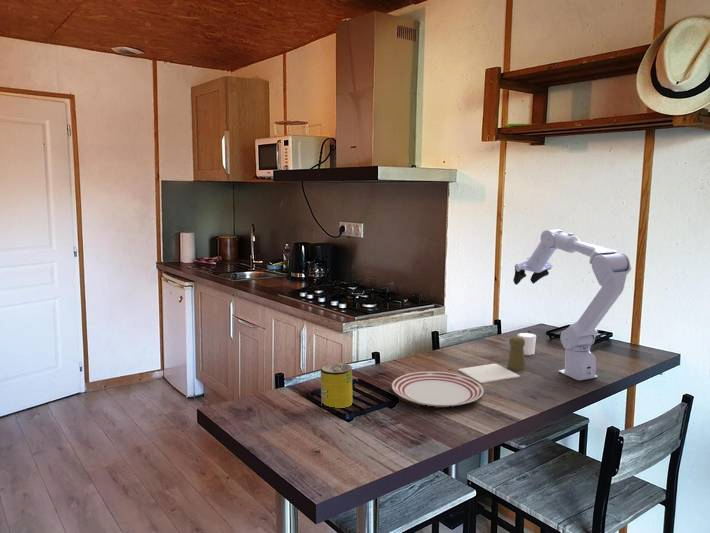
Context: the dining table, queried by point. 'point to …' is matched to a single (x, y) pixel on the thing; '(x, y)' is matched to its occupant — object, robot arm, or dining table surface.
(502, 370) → the mat
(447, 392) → the dinner plate
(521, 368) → the olive waisted cylinder
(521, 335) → the white short cylinder
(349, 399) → the yellow tin can
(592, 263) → the robot arm
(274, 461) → the dining table surface
